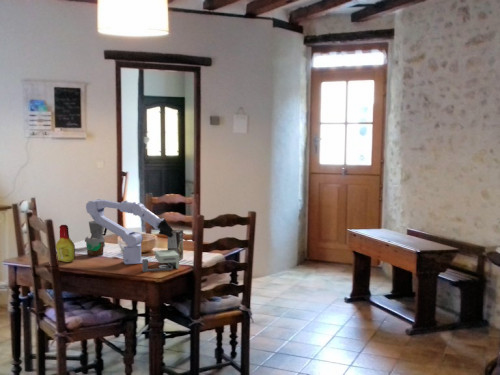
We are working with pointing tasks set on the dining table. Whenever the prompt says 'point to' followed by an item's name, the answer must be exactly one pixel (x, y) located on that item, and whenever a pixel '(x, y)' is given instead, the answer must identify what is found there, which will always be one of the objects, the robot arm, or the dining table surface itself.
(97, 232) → the coffeepot
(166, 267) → the steel token
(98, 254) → the food container
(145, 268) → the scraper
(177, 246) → the coffee box
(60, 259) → the bottle
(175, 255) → the low cabinet
